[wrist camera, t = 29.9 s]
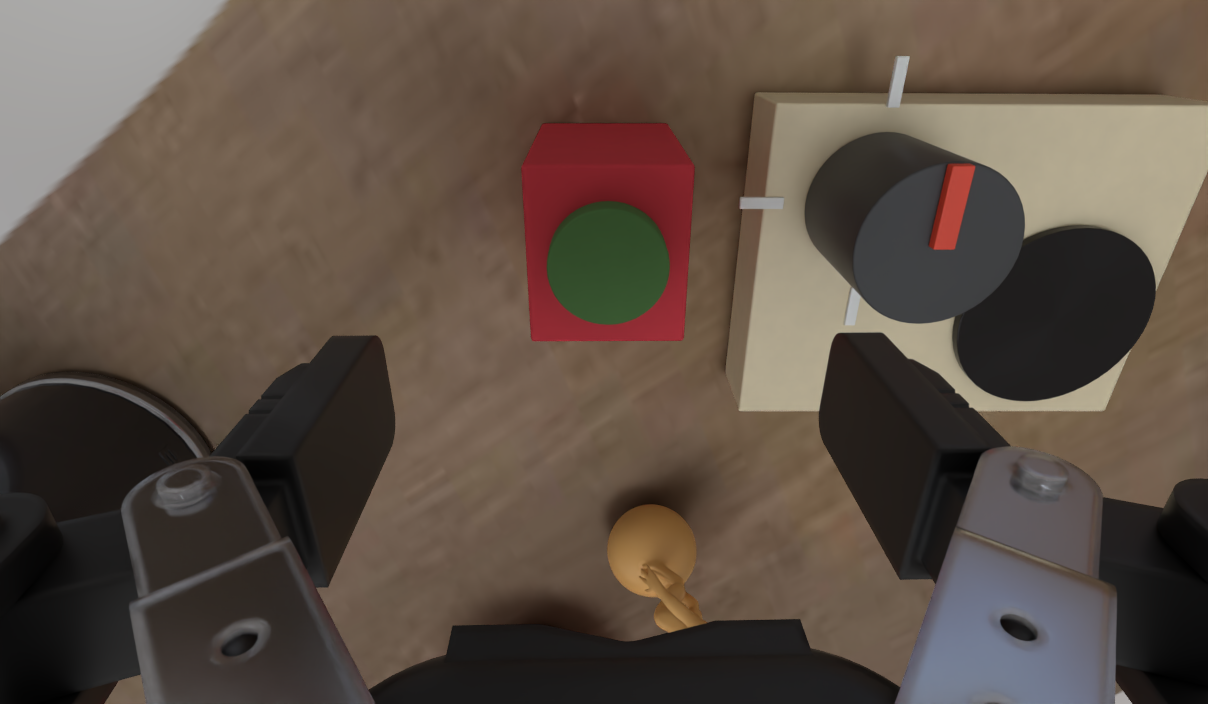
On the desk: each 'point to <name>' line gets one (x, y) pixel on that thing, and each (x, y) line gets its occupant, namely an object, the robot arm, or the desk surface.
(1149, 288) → the burner
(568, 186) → the red block green button
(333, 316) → the desk surface
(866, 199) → the hob knob
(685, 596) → the figurine
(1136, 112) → the hob
